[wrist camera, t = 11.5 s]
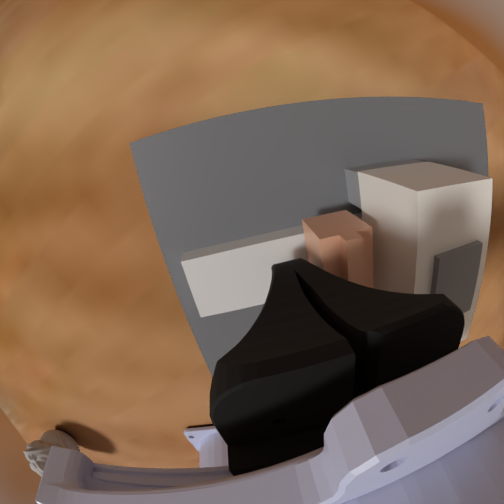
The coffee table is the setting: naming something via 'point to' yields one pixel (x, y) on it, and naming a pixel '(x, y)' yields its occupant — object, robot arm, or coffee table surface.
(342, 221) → the rail clip
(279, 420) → the robot arm
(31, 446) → the grey sculpted head
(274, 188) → the rail board
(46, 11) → the coffee table surface
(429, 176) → the block
